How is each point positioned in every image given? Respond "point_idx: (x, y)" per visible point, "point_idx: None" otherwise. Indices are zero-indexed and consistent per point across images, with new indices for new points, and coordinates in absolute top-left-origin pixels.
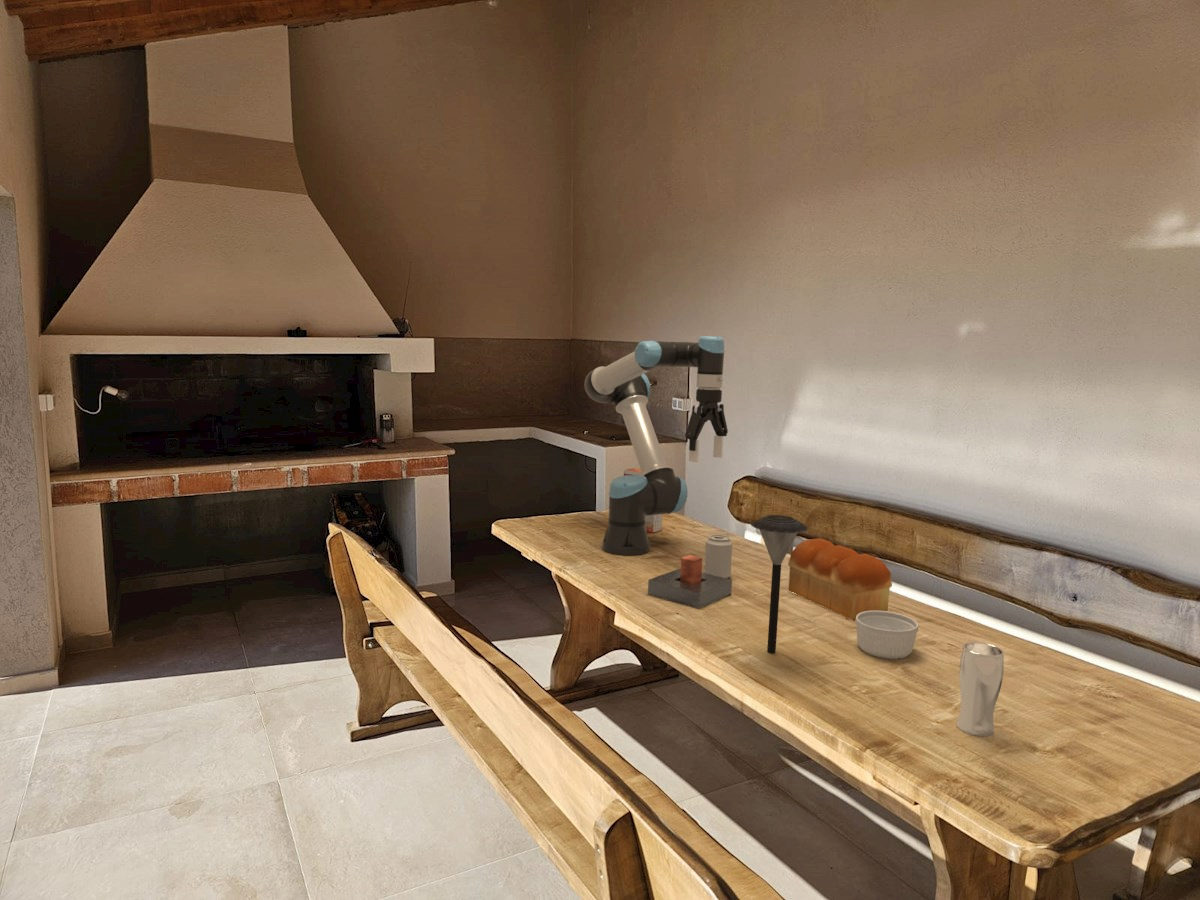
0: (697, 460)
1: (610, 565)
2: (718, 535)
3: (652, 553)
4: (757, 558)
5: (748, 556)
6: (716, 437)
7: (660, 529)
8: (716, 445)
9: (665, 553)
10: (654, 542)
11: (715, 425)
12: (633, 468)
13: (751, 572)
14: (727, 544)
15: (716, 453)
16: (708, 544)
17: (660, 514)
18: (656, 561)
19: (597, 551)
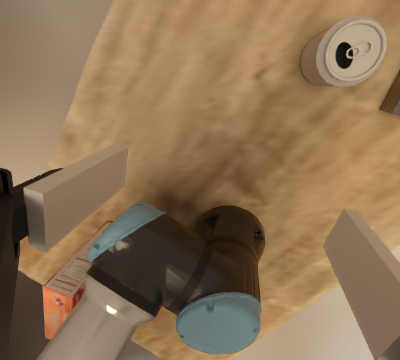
0: (352, 214)
1: (324, 230)
2: (329, 62)
3: (230, 198)
4: (164, 31)
5: (161, 52)
6: (53, 228)
7: (110, 223)
8: (91, 198)
9: (220, 182)
10: (171, 212)
11: (2, 326)
12: (48, 337)
13: (264, 8)
14: (376, 21)
15: (116, 177)
16: (372, 73)
17: (99, 236)
18: (272, 181)
19: (259, 262)
